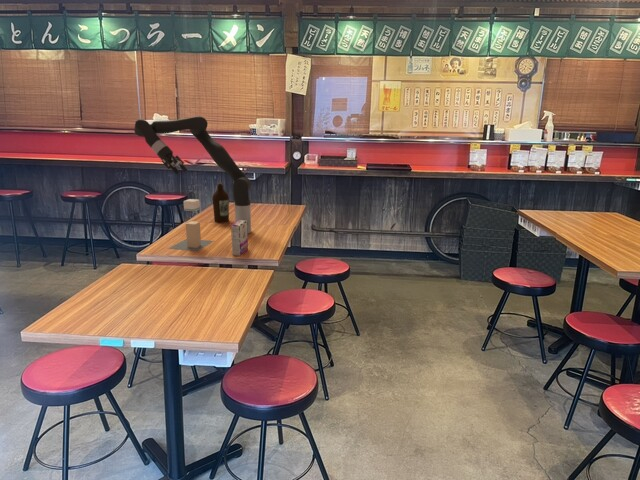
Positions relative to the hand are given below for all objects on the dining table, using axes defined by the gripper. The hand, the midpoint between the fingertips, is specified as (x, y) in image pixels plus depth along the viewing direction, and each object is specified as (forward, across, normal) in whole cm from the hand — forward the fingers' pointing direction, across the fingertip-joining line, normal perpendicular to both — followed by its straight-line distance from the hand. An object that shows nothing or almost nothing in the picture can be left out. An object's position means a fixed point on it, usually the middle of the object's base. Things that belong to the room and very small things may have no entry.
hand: (182, 172), depth 268 cm
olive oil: (+27, +47, +28) cm, 61 cm away
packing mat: (+34, -11, +21) cm, 41 cm away
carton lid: (+21, -13, +4) cm, 25 cm away
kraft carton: (+35, -13, +18) cm, 41 cm away
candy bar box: (+55, -14, 0) cm, 57 cm away
